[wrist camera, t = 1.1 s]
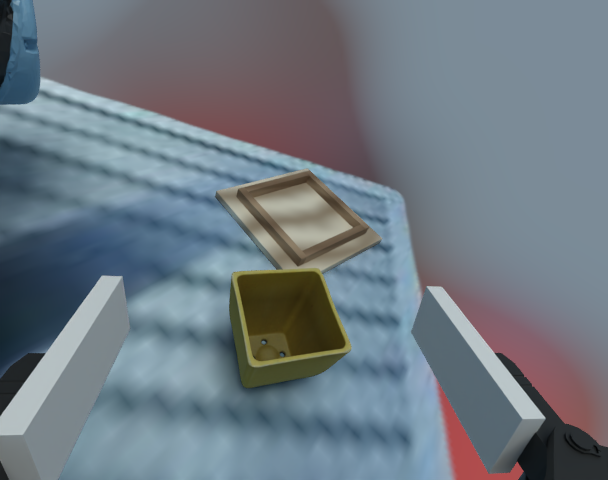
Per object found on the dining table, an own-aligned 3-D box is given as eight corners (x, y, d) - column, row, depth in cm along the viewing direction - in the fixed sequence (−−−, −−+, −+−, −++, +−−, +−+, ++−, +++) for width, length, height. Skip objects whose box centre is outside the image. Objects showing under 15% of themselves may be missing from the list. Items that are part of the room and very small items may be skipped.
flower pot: (216, 322, 36) (231, 269, 30) (294, 314, 40) (320, 266, 34) (229, 410, 31) (249, 368, 25) (317, 392, 34) (354, 351, 28)
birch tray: (215, 196, 49) (217, 182, 47) (305, 173, 60) (310, 161, 59) (293, 289, 42) (299, 276, 40) (379, 243, 53) (386, 231, 52)
